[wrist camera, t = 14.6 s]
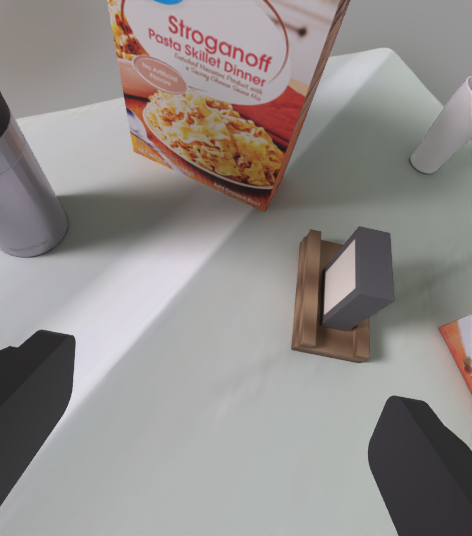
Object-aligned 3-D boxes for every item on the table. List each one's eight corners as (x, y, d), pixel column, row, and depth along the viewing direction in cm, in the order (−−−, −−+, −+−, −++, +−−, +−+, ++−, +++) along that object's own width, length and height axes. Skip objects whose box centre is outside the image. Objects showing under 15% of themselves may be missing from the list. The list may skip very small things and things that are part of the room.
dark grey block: (346, 331, 43) (394, 300, 33) (319, 326, 43) (359, 293, 33) (346, 275, 46) (390, 233, 37) (322, 270, 46) (359, 226, 36)
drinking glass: (428, 184, 59) (499, 111, 46) (398, 161, 61) (457, 84, 48) (446, 166, 62) (518, 93, 49) (416, 144, 64) (478, 68, 50)
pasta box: (133, 151, 54) (84, -129, 27) (160, 121, 57) (139, -151, 31) (264, 211, 52) (348, -25, 25) (282, 176, 56) (373, -62, 29)
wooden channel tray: (359, 363, 43) (375, 356, 40) (291, 349, 43) (300, 342, 39) (358, 256, 51) (371, 242, 47) (300, 243, 50) (308, 229, 47)
